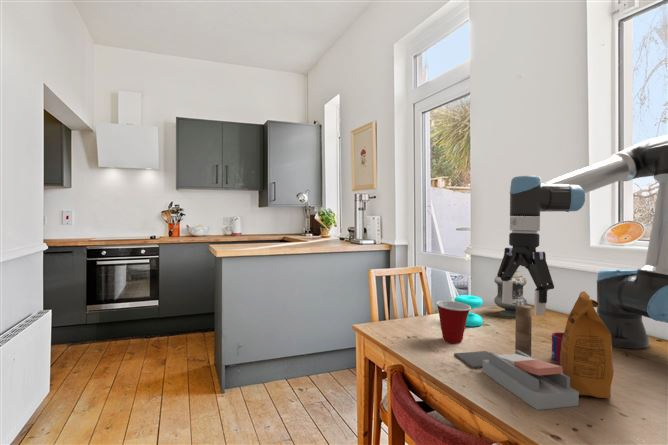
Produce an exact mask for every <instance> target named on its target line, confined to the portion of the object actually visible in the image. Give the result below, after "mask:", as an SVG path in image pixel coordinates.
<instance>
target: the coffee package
mask: <svg viewBox="0 0 668 445" xmlns="http://www.w3.org/2000/svg"><path fill="white" fill-rule="evenodd" d="M598 306H599V304H598V302H597V300H594V299H592V298H591V297H590V295H589V294H588V293H587V292H586V291H580V293H579V295H578V298H577V299H576V301H575V303H574V304H573V306H572V309H571V311H570V312H569V315H568V317H567V321H566V325H565V328H564V332H563V333H564V334H563V338H562V342H561V354H560V363H559V366H562V369H563V374H565V375H567V376H569V377H570V387H571V388H573V389H575V390H577V391H579V396H590V397H594V398H598V399H599V398H600V399H605V398H606V399H610V398H611V397H612V396H611V395H612V394H611V392H612V391H611V388H612V387H611V386H612V382H613V378H614V371H615V370H614V365H613V364H614V362H613V346H612V340H611V334H610V332H609V330H608V329H607V327H606V325H605V324H604V323H603V321H602V320H601V319H600V317H599V316H598V314H597V310H596V309H595V308H597V307H598Z"/></svg>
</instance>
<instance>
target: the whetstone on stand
mask: <svg viewBox="0 0 668 445" xmlns="http://www.w3.org/2000/svg"><path fill="white" fill-rule="evenodd" d="M488 353H489V360H483V368H482V373H484V374H485V375H487V377H488V376H489V378H491V379H493V380H494V381H495V382H497V383H498V384H500V385H501V386H503V387H504V388H505V389H506V390H508V391H509V392H511V393H513V394H514V395H515V396H517V398H518V399H520V400H522V401H524V402H525V403H527V404H528V405H529V406H530V407H532V408H534V410H537V411H541V410H551V409H552V410H553V409H558V408H559V409H560V408H570V407H577V406H579V403H580V399H579V398H580V397H579V396H580V395H579V391H577V390H575V389H573V388H571V387H570V377H569V376H567V375H565V374H563V373H562V374H550V375H539V376H538V375H535V374H532V373H529V372H526V371H523V370H521V369H519V368H518V367H516V366H514V365H513V364H511V363H509V362H508V361H506V360H504V359H503V358H501V357H499V356H498V355H499V354H496V353H494V352H492V351H488ZM516 354H518V355H522V356H526V357H529V358H533V359H535V357H532V355H531V356H529V355H527V354H525V353H523V352H521V351H519V350H516Z"/></svg>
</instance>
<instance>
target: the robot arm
mask: <svg viewBox="0 0 668 445" xmlns="http://www.w3.org/2000/svg"><path fill="white" fill-rule="evenodd" d="M645 177H646V178H648V177H653V179H654V180H655V181H656V182H657V183H658V190H657V194H656V201H655V208H654V213H653V218H652V224H651V230H650V235H649V241H648V247H647V253H646V258H645V264H644V265H642V266H640V267H638V268H637V269H601V270H600V271H599V272H598V273H597V280H596V301H597V302H598V304H599V306H598V307H596V313H597V314H598V316H599V317H600V319H601V320H602V321H603V323H604V324H605V325H606V327H607V329H608V330H609V332H610V334H611V340H612V347H617V348H625V349H633V350H634V349H637V350H638V349H646V348H649V346H650V338H649V336H648V335H647V332H646V327H645V325H644V323H643V317H645V318H648V319H651V320H654V321H655V322H660V323H661V322H662V323H667V324H668V134H667V135H666V134H665V135H662V136H661V135H660V136H658V137H653V138H650V139H647V140H644V141H641V142H638V143H637V144H634V145H633V146H630V147H627V148H625V149H623V150H621V151H618V152H615V153H613V154H612V155H611V157H610V158H608V159H606V160H603V161H600V162H597V163H594V164H592V165H590V166H586V167H582V168H581V169H577V170H574V171H572V172H569V173H566V174H564V175H561V176H558V177H555V178H553V179H551V180H547V181H546V182H545V181H544V182H542V179H541V177H540V176H538V175H520V176H514V177H513V178H511V182H510V188H509V231H510V233H509V236H508V243H509V246H511V247H505V248H504V251H503V252H504V253H503V257H502V260H501V263H500V265H499V268H498V271H497V274H496V276H498V277H500V278H501V280H502V303H512V284H513V281H509V280H512V276H513V275H514V273H515V272H516V271H518V268H519V267H520V266H521V267H525V269H527V270H528V272H529V275H530V277H531V278H532V281H533V282H534V285H535V287H536V288H535V289H534V303H533V305H534V308H533V311H534V313H533V314H534V315H535V316H546V312H547V311H546V306H547V302H548V291H549V290H554V289H555V284H554V282H553V279H552V276H551V273H550V270H549V266H548V263H547V260H546V259H547V258H546V252H545V251H537V248H538V247H539V246H540V236H541V235H540V234H539V233H538V232H540V231H541V212H543V213H544V212H552V213H553V212H566V213H570V212H578V211H579V210H581V209H582V208H583V206H584V205H585V203H586V194H587V193H589V192H591V191H595V190H597V189H600V188H604V187H606V186H608V185H611V184H614V183H616V182H617V183H618V182H619V181H620V182H629V181H632V180H635V179H639V178H645ZM502 272H504V273H502Z"/></svg>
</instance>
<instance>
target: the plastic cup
mask: <svg viewBox="0 0 668 445" xmlns="http://www.w3.org/2000/svg"><path fill="white" fill-rule="evenodd" d="M436 306H437V310H438V315H439V316H438V317H439V322H440V323H439V324H440V329H441V334H442V338H443V341H444V342H445V343H448V344H461V343H462V342H463V339H464V334H465V330H466V326H465V325H466V320H467V316H468V313H470V310H472V308H471V307H470V306H469V305H467V304H463V303H460V302H455V301H454V300H438V301H436Z"/></svg>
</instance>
